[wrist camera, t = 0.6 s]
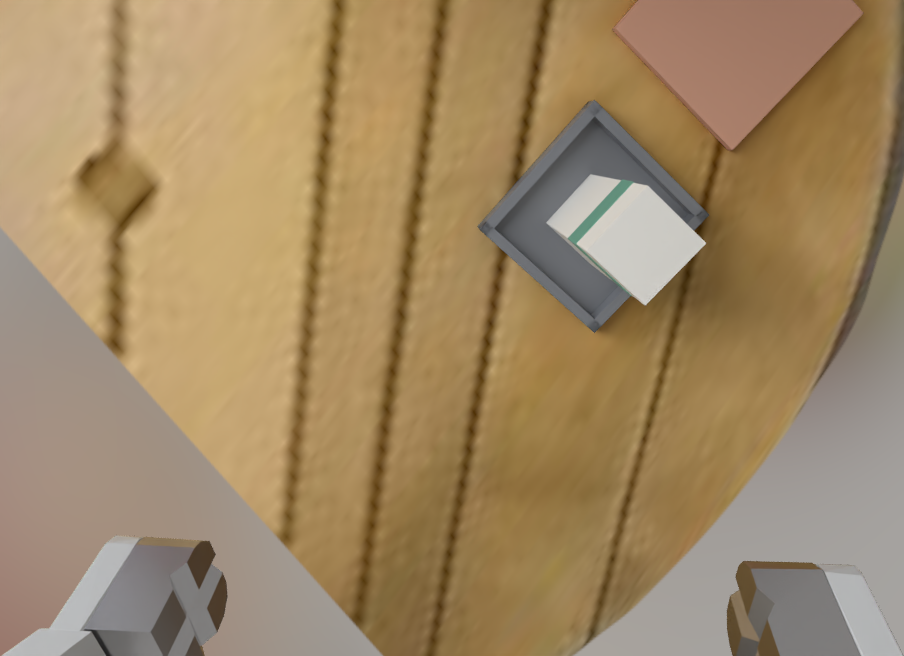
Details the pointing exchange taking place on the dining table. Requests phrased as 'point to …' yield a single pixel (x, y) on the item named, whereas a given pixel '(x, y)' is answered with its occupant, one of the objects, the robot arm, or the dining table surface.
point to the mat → (733, 52)
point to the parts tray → (551, 183)
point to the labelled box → (626, 234)
